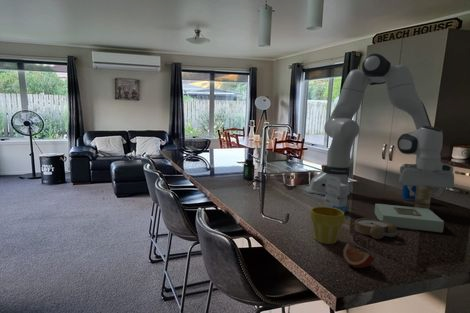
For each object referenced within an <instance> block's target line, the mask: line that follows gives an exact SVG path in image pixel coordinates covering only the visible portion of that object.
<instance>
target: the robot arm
mask: <svg viewBox="0 0 470 313" xmlns="http://www.w3.org/2000/svg"><path fill="white" fill-rule="evenodd" d="M391 64H392V63H391V62H390V61H389V60H388V59H387V58H386V57H385V56H383V55H382V54H380V53H371V54H369V55H367V56H366V57H365V58H364V59H363V61H362V63H361V69H357V68H356V69H352V70H350V72H349V73H348V74H347V76H346V78H345V80H344V82H343V85H342V87H341V90H340V94H339V97H338V98H337V99H338V100H337V102H336V105H335V106H334V109H333V111H331V114H330V116H329V118H328V120H327V121H326V122H325V123H324V127H323V128H324V132H325V134H326V135H327V136H329V137H330V138H331V139H332V140H331V144H330V146H329V148H328V149H327V156H326V164H322V165H321V170H322V171H321V172H320V173H318V174H316V175H315V176H313V177H312V179H311V180H310V184H309V185H307V186H305V191H306V192H307V193H308V194H316V195H321V196H325V194H326V182H327V175H329V176H333V177H336V178H340V179H341V182H340V183H342V184H345V185H348V196H349V195H350V194H351V192H350V187H349V186H350V184H349V178H350V173H351V171H350V170H351V169H350V168H351V167H350V159H351V151H352V148H353V146H354V145H353V144H354V141H355V139H356V138H357V137H358V135H359V133H360V126H359V124H358V123H357V122H356V121H355V120H354V119H353V118H354V116H355V114H356V113H358V111H359V110H360V107H361V105H362V102H363V99H364V95H365V92H366V90H367V87H368V86H369V85H370V86H374V85H383V84H385V85H386V88H387V94H388V99H389V101H390V104H391V105H392V106H393V107H395V108H397V109H399V110H401V111H403V112H405V113H407V114H408V115H409V116H411V118H412V120H413V124H414V127H415V129H416V130H413V131H411V132H406V133H402V134H401V135H400V136H399V137H398V139H397V144H396V145H397V146H396V147H397V149H398V150H399V152H400V153H401V154H404V155H415V156H416V157H415V164H414V163H404V164H401V166H400V167H399V172H400V174H399V179H398V182H399V184H400V185H402V186H403V185H408V186H407V187H408V189H409V191H410V196H414V194H415V192H414V191H412V190H411V188H412V187H413V186H419V185H421V186H431V187H432V188H437V191H436V192H433V197H434V199H435V198H436V199H439V198H440V195H441V194H442V192H443V191H444V189H452V188H454V186H455V174H454V173H453V171H454V166H452V165H450V164H448V163H445V162H443V161H441V160H442V157H441V152H442V149H443V145H444V144H443V140H444V138H443V137H444V135H443V130H442V129H441V128H439V127H436V126H432V124H431V121H430V118H429V115H428V112H427V109H426V107H425V105H424V103H423V101H422V100H421V98H420V96H419V95H418V91H417V89H416V85H415V82H414V78H413V75H412V73H411V70H410V68H409V67H408V66H407V65H405V64H396V65H391ZM331 180H332V181H336V180H334V179H331Z"/></svg>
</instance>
